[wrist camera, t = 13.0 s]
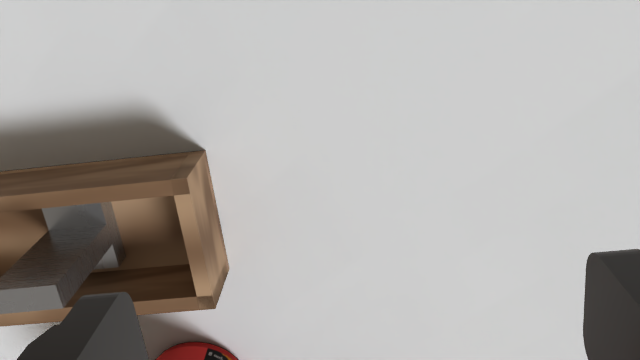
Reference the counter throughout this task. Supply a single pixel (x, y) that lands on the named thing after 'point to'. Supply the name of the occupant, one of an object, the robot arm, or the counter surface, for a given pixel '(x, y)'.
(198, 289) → the open wooden box
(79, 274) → the bracket
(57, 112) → the counter surface
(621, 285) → the robot arm
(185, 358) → the canned food
